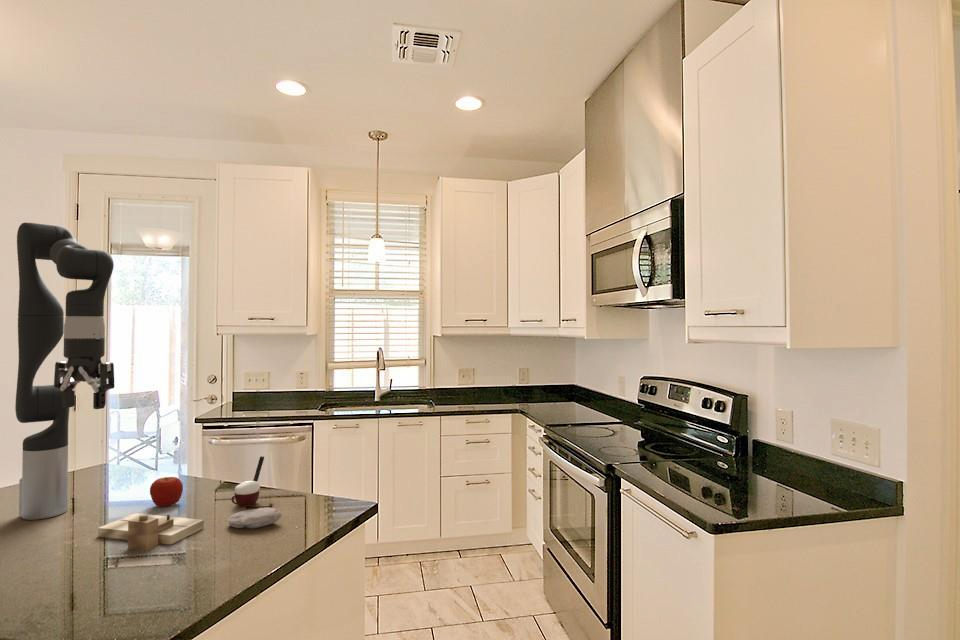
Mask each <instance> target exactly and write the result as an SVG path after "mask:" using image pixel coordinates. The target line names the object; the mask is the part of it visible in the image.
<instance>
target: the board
mask: <svg viewBox="0 0 960 640" xmlns="http://www.w3.org/2000/svg"><path fill="white" fill-rule="evenodd" d="M141 515H148V517H152V518H158V522H159V521H161V520H164V519H166V518H167V515H166V516H165V515H156V514H155V515H154V514H145V513H135V512H134V513H132V514H130V515H126V516H124V517H121V518H119V519H117V520H114V521H112V522H109V523H107V524H105V525H102V526H100V527H97V537H100V538H108V539H117V540H125V541H126V540H127V541H128V521H129V520H132V519H134V518H137V517H139V516H141ZM170 519H174V525H172V526H170V527H168V528H166V529H164V530H162V531H159V532H158V544H163V545H172V544H175V543H177V542H178V541H181V540H183V539H185V538H187V537H188V536H191V535H193V534H195V533H197V532H198V531H201V530H203V529H204V524H205V523H204V521H205V519H198V518H188V517H178V516H177V517H176V516H170Z"/></svg>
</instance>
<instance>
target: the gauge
mask: <svg viewBox="0 0 960 640" xmlns="http://www.w3.org/2000/svg"><path fill="white" fill-rule="evenodd" d="M148 515H149V514H147V515H141V516H139V517H137V518H134V519H132V520H129V521H128V540H127V549H130V550H139V551H149V550H151V549H153V548H155V547H157V546H159V543H158V532H159V531H162V530H164V529H166V528H168V527H170V526H172V525H174V519H170V517H171V514H167V515H166V516H167V518H166V519H164V520H161V521H159V522H158V518H152V517H148Z"/></svg>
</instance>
